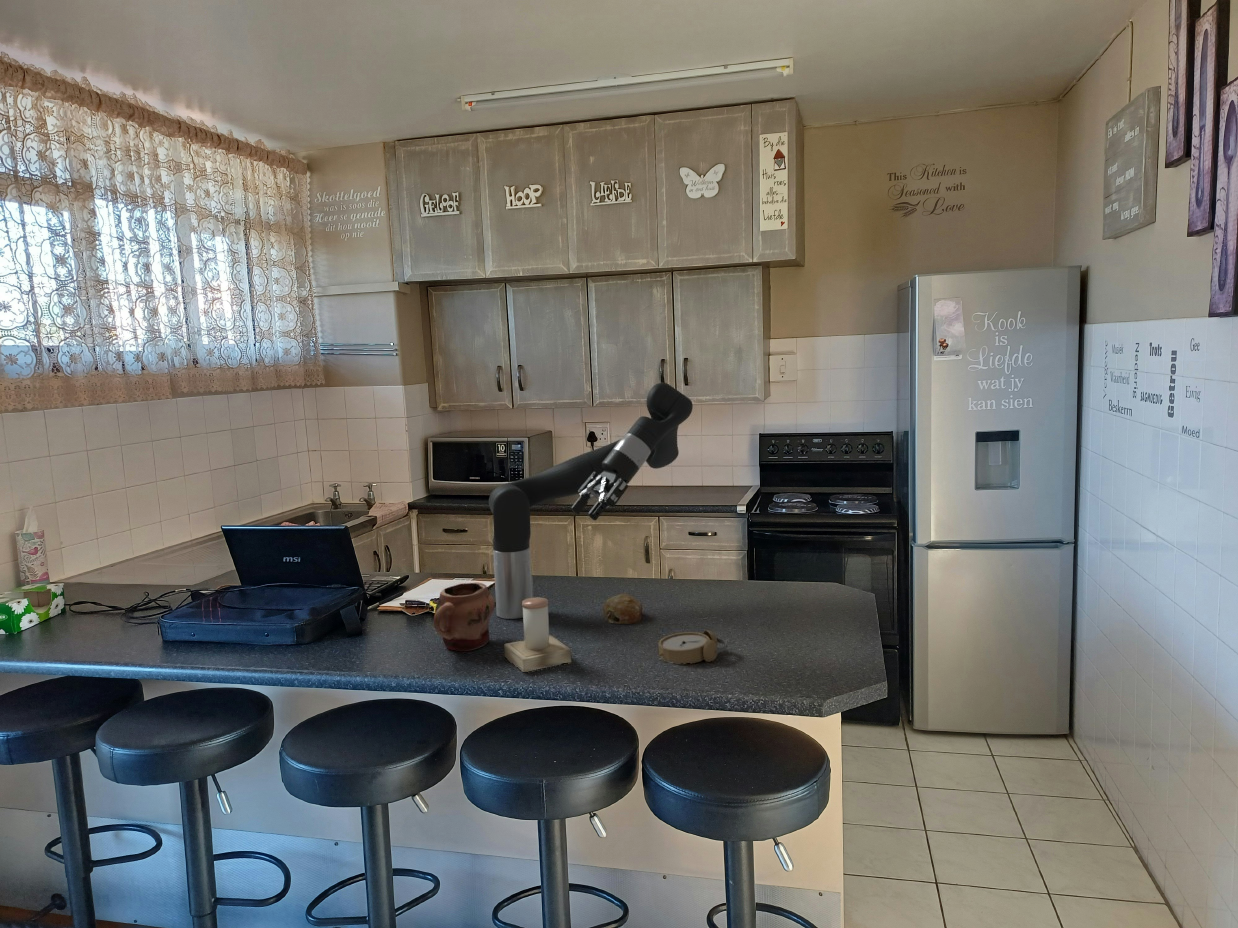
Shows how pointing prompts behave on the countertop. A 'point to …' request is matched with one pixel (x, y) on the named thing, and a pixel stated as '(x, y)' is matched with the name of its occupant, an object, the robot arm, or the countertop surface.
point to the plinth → (537, 655)
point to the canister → (536, 623)
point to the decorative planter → (464, 616)
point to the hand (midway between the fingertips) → (582, 514)
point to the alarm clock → (690, 647)
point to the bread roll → (622, 609)
